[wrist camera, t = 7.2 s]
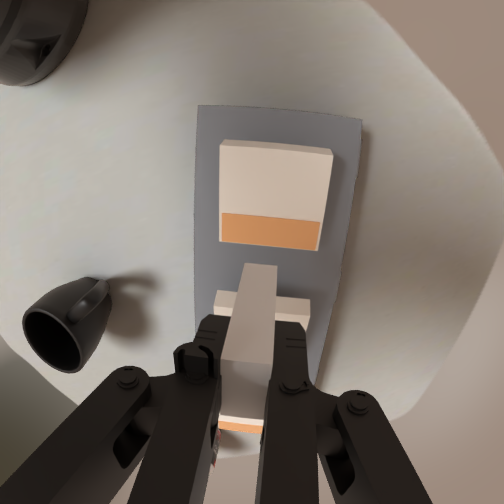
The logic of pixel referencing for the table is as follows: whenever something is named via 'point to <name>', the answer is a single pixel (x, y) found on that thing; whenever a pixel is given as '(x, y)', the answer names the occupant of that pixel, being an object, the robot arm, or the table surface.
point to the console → (286, 259)
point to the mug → (68, 323)
